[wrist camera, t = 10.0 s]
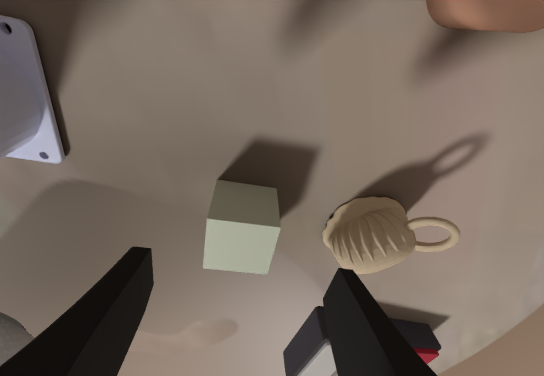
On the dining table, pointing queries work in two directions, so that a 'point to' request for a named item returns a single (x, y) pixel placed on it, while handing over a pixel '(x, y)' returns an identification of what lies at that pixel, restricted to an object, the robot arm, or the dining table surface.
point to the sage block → (241, 228)
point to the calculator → (318, 354)
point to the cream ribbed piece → (378, 234)
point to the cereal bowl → (11, 337)
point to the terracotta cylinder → (488, 14)
